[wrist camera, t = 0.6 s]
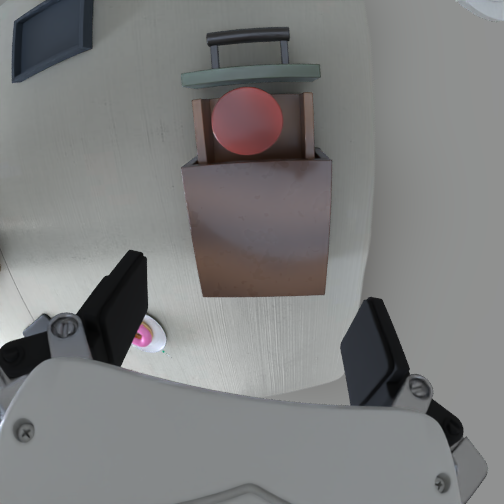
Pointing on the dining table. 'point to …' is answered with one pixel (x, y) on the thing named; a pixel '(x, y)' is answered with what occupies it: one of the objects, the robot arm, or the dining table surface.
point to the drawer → (292, 105)
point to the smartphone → (37, 326)
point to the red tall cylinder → (247, 121)
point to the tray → (50, 35)
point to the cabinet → (260, 225)
